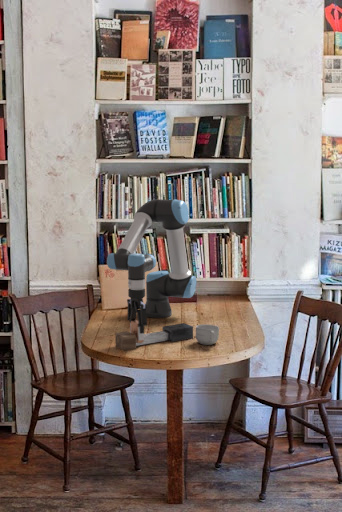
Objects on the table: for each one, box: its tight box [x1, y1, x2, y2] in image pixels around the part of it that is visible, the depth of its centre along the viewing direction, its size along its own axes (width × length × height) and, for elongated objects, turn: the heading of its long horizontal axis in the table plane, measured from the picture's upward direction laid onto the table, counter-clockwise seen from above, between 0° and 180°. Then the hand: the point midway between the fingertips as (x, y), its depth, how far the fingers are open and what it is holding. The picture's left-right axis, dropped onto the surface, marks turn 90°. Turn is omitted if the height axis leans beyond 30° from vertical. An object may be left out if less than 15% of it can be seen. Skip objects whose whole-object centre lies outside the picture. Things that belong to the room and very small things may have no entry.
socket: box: [114, 330, 137, 352], centre depth 333 cm, size 8×6×6 cm
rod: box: [131, 319, 170, 347], centre depth 340 cm, size 6×28×11 cm, turn 123°
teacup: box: [195, 323, 220, 346], centre depth 337 cm, size 14×11×8 cm
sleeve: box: [161, 322, 194, 343], centre depth 348 cm, size 8×12×6 cm, turn 123°
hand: (137, 338), depth 336 cm, fingers closed on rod, 6 cm apart
